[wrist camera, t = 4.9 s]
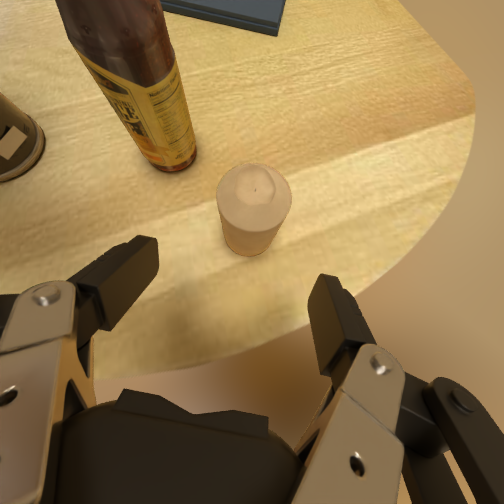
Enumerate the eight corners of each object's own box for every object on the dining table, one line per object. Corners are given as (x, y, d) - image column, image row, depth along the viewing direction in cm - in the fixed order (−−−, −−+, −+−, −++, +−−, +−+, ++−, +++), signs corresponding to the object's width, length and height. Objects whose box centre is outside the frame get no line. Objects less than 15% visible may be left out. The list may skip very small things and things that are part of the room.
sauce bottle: (137, 144, 25) (-220, -413, 5) (184, 124, 26) (25, -397, 7) (161, 186, 24) (-176, -321, 4) (209, 163, 25) (108, -319, 5)
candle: (281, 243, 23) (312, 202, 13) (237, 265, 22) (237, 238, 12) (258, 203, 24) (272, 137, 14) (216, 222, 23) (200, 166, 13)
